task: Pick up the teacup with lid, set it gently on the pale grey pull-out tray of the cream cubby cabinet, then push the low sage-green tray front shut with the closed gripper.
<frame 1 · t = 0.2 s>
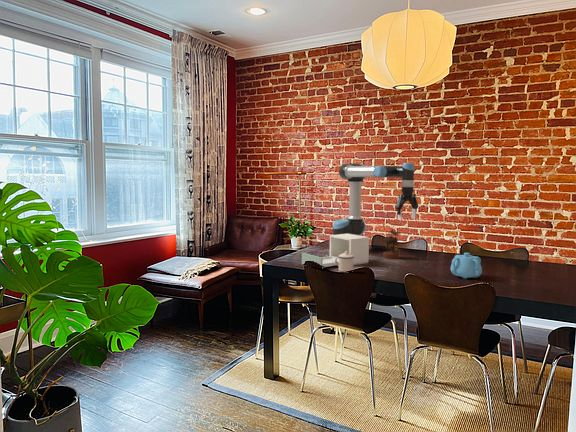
hand: (406, 219, 284), 28 cm above the table, tool pointing down, fingers open, 13 cm apart
teacup with lid: (343, 270, 258), on the table
bird nest figurine: (389, 257, 297), on the table
tray: (326, 258, 271), point 4 cm above the table, slide at 14.0 cm
decorative pot: (465, 276, 244), on the table
housing: (348, 261, 283), on the table
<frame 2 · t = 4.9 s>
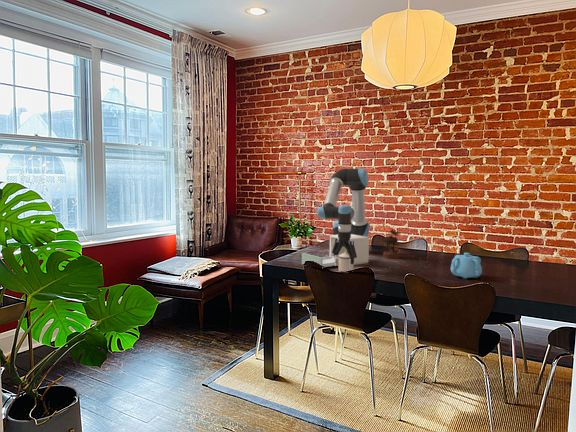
hand: (343, 267, 257), 2 cm above the table, tool pointing down, fingers closed on teacup with lid, 12 cm apart
teacup with lid: (343, 270, 258), on the table, touching gripper
everything else where it was.
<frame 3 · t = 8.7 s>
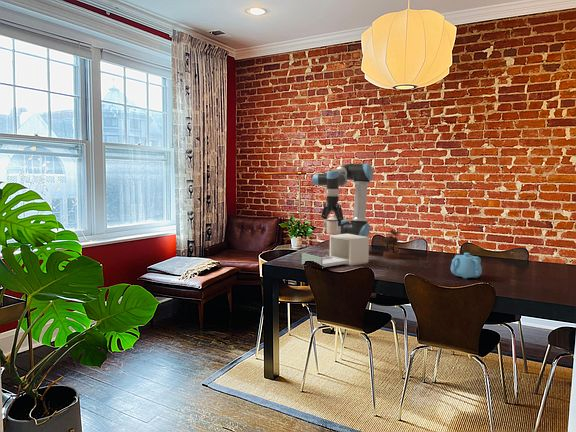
hand: (331, 230, 272), 22 cm above the table, tool pointing down, fingers closed on teacup with lid, 11 cm apart
teacup with lid: (331, 233, 272), point 20 cm above the table, touching gripper
everything else where it was.
when the fingers open (5 cm above the table, at t = 12.4 s): teacup with lid drops 1 cm, resting on tray.
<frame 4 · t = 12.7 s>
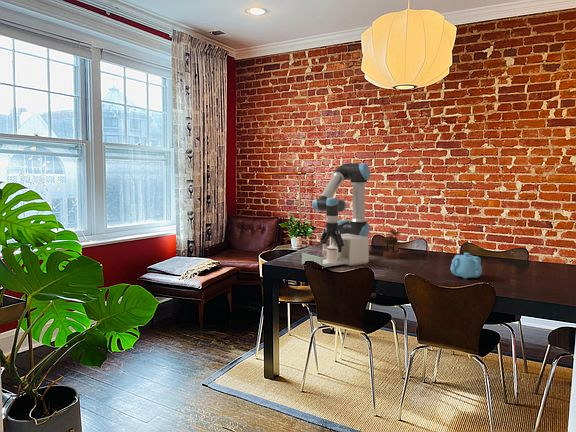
hand: (331, 255, 274), 6 cm above the table, tool pointing down, fingers open, 13 cm apart
teacup with lid: (331, 261, 274), point 2 cm above the table, touching tray
tray: (326, 258, 271), point 4 cm above the table, slide at 14.0 cm, touching teacup with lid
everything else where it was.
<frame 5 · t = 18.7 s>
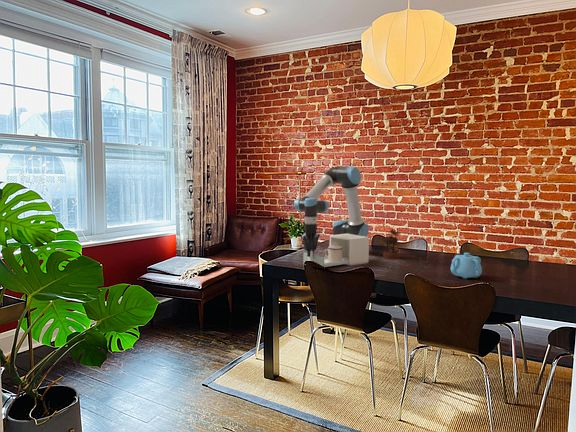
hand: (310, 261, 264), 4 cm above the table, tool pointing down, fingers closed
teacup with lid: (332, 261, 275), point 2 cm above the table, touching tray
tray: (327, 258, 272), point 4 cm above the table, slide at 12.7 cm, touching gripper, teacup with lid
everything else where it was.
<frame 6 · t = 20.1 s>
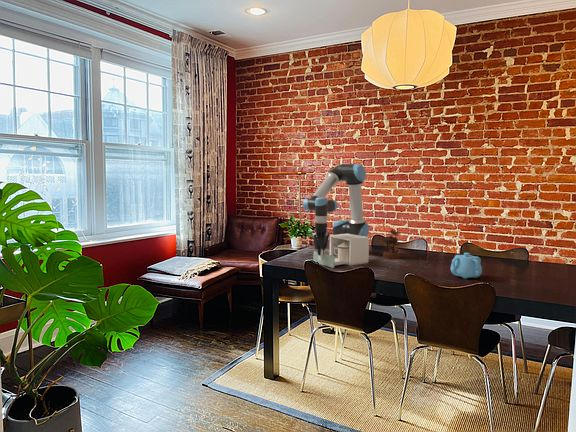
hand: (320, 260, 269), 4 cm above the table, tool pointing down, fingers closed
teacup with lid: (342, 259, 279), point 2 cm above the table, touching tray
tray: (337, 257, 277), point 4 cm above the table, slide at 4.5 cm, touching gripper, teacup with lid
everything else where it was.
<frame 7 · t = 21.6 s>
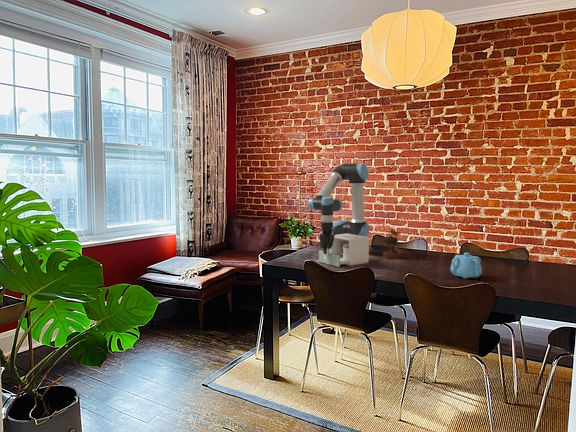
hand: (326, 258, 272), 4 cm above the table, tool pointing down, fingers closed
teacup with lid: (347, 259, 282), point 2 cm above the table, touching tray
tray: (342, 256, 279), point 4 cm above the table, slide at 0.0 cm, touching gripper, teacup with lid
everything else where it was.
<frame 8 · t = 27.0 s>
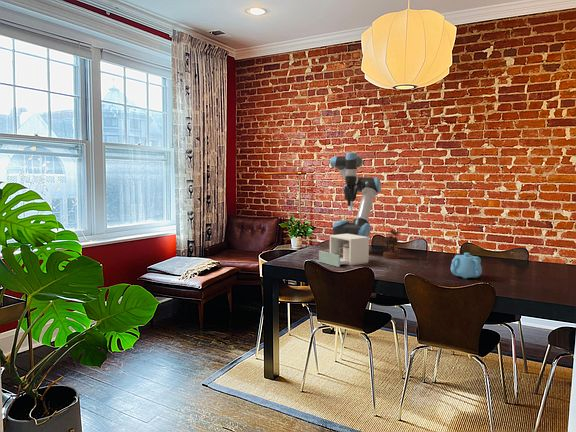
hand: (350, 210, 294), 32 cm above the table, tool pointing down, fingers closed
tray: (342, 256, 279), point 4 cm above the table, slide at 0.0 cm, touching teacup with lid
everything else where it was.
at the end: tray slide at 0.0 cm; teacup with lid inside the target area on the housing (0.7 cm from its centre), point 1.9 cm above the housing's base; teacup with lid tilted 0° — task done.
